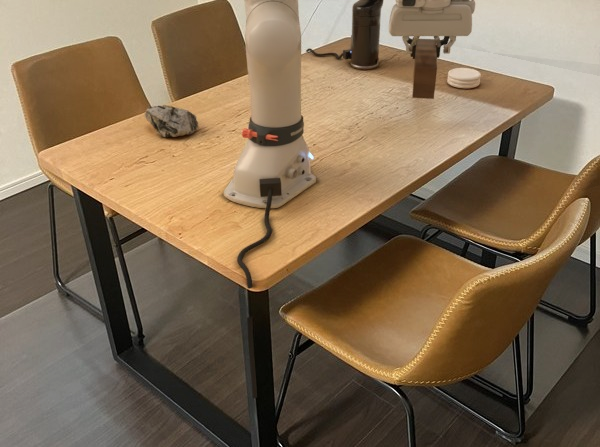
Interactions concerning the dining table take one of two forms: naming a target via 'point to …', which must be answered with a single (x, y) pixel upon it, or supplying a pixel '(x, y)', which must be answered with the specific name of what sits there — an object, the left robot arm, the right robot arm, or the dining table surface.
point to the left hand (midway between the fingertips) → (427, 53)
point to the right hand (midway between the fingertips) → (424, 58)
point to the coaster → (464, 78)
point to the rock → (171, 120)
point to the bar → (425, 69)
